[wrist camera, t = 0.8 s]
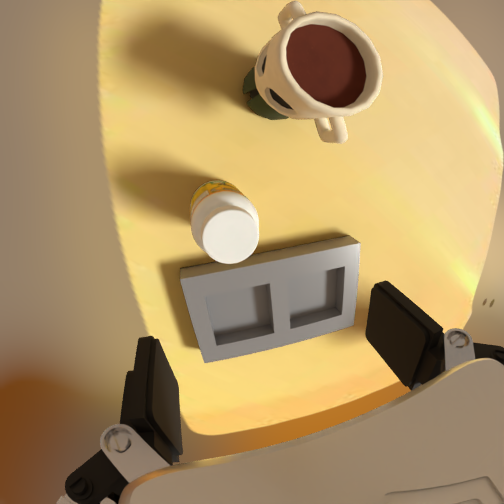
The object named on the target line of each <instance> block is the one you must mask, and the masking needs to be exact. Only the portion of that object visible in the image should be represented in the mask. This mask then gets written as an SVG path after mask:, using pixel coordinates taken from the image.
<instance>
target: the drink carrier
mask: <svg viewBox="0 0 504 504" xmlns="http://www.w3.org/2000/svg"><path fill="white" fill-rule="evenodd" d="M359 261H360V242H358V241H357V240H355V239H354V238H352V237H351V236H345V237H340V238H335V239H330V240H325V241H319V242H314V243H309V244H304V245H299V246H294V247H289V248H284V249H279V250H273V251H268V252H263V253H258V254H253V255H250V256H249V257H248V258H246V259H245V260H243V261H241V262H238V263H233V264H225V263H220V262H218V261H217V262H212V263H206V264H201V265H196V266H191V267H186V268H180V281H181V285H182V289H183V293H184V296H185V300H186V304H187V307H188V311H189V314H190V318H191V321H192V324H193V328H194V331H195V334H196V338H197V341H198V344H199V347H200V350H201V354H202V357H203V360H204V363H208V362H214V361H219V360H224V359H229V358H234V357H239V356H243V355H248V354H252V353H257V352H261V351H265V350H269V349H273V348H277V347H281V346H285V345H289V344H293V343H296V342H300V341H304V340H307V339H311V338H314V337H318V336H321V335H324V334H328V333H331V332H334V331H337V330H341V329H344V328H347V327H350V326H353V325H354V317H355V308H356V299H357V288H358V276H359Z"/></svg>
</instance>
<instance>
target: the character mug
mask: <svg viewBox="0 0 504 504" xmlns="http://www.w3.org/2000/svg"><path fill="white" fill-rule="evenodd" d="M292 18H293V20H292ZM278 21H279V24H280V26H281V29H282V30H280V31H279V32H278V33H276V34H275V35H274V36H273V37H272V39H271V40H270V41H269V42H268V43H267V44H266V45H265V46H264V47H263V48H262V50H261V52H260V54H259V56H258V58H257V62H256V65H255V67H253V68H252V69H251V71H250V72H249V73H248V75H247V76H246V78H245V80H244V86H243V93H244V94H245V93H247V92H249V91H250V97H251V98H252V99H251V100H249V101H248V102H247V104H248V106H249V107H250V108H251V109H252V110H253V111H254V112H255V113H256V114H257V115H259V116H262V117H265V118H267V119H270V120H277V119H287V118H289V117H290V118H292V119H298V120H299V119H314V120H315V124H316V127H317V130H318V134H319V136H320V138H321V140H322V141H324V142H328V143H340V144H342V143H344V142H345V141H346V140H347V139H348V133H347V129H346V125H345V122H344V118H343V116H351V115H354V114H356V113H358V112H360V111H362V110H364V109H366V108H368V107H370V105H371V104H372V103H373V101H374V100H375V99H376V97H377V96H378V94H379V93H380V88H381V84H382V79H383V72H382V65H381V59H380V56H379V54H378V52H377V50H376V48H375V46H374V45H373V43H372V41H371V39H370V38H369V37H368V36H367V35H366V34H365V33H364V32H363V31H362V30H361V29H360V28H359V27H358V26H357V25H356V24H354V23H352V22H350V21H348V20H347V19H345V18H343V17H341V16H339V15H337V14H331V13H324V12H313V13H309V14H306V13H305V10H304V8H303V6H302V5H301V3H300V2H297V1H292V2H290V3H288V4H287V5H286V6H285V7H284V8H283V10H282V11H281V12H280V13H279V15H278ZM327 118H329V120H330V123H331V127H332V130H330V127H329V123H328V120H327Z"/></svg>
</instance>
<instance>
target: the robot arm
mask: <svg viewBox="0 0 504 504" xmlns="http://www.w3.org/2000/svg"><path fill="white" fill-rule="evenodd" d="M442 331H443V328H442V327H441V326H440V325H439V324H438V323H437V322H435V321H434V320H433V319H432V318H431V317H430V316H429V315H427V314H426V313H425V312H424V311H423V310H422V309H421V308H419V307H418V306H417V305H416V304H415V303H413V302H412V301H411V300H410V299H409V298H408V297H406V296H405V295H404V294H403V293H402V292H400V291H399V290H398V289H397V288H395V287H394V286H393V285H392V284H391V283H389V282H388V281H383V282H379V283H376V284H375V285H374V288H372V290H371V297H370V305H369V313H368V320H367V326H366V338H367V340H368V341H369V342H370V344H371V345H372V346H373V347H374V349H375V350H376V351H377V352H378V353H379V355H380V356H381V357H382V358H383V360H384V361H385V362H386V363H387V365H388V366H389V367H390V368H391V370H392V371H393V372H394V373H395V374H396V376H397V377H398V378H399V379H400V381H401V382H402V383H403V384H404V385H405V386H408V387H409V388H410V390H411V391H410V392H408V393H406V394H405V395H403V396H401V397H399V398H397V399H395V400H393V401H391V402H389V403H387V404H385V405H383V406H380V407H379V408H376V409H374V410H372V411H369V412H367V413H365V414H363V415H360V416H358V417H356V418H353V419H351V420H348V421H346V422H344V423H341V424H338V425H335V426H333V427H330V428H327V429H325V430H322V431H319V432H316V433H313V434H310V435H307V436H304V437H301V438H297V439H294V440H291V441H287V442H284V443H280V444H276V445H273V446H269V447H265V448H261V449H256V450H252V451H247V452H243V453H238V454H233V455H228V456H223V457H217V458H211V459H205V460H199V461H193V462H187V463H181V464H177V465H173V464H172V463H173V462H179V455H182V454H183V448H182V437H181V424H180V423H181V422H180V404H179V387H178V383H177V380H176V378H175V376H174V374H173V371H172V369H171V367H170V365H169V362H168V360H167V358H166V356H165V353H164V351H163V349H162V346H161V344H160V341H159V339H154V337H153V336H148V337H142V338H139V339H138V345H137V351H136V357H135V364H134V370H133V371H128V372H127V375H126V381H125V387H124V394H123V401H122V409H121V418H120V424H116V425H112V426H110V427H108V428H107V429H106V430H105V431H104V432H103V434H102V435H101V439H100V445H101V448H102V449H101V450H100V451H99V452H97V453H96V454H95V455H94V456H93V457H92V458H90V459H89V460H88V461H86V462H85V463H84V464H83V465H82V466H80V467H79V468H78V469H76V470H75V471H74V472H73V473H71V474H70V476H68V478H67V480H66V482H65V490H66V495H65V496H64V497H63V496H61V497H60V499H59V500H58V502H57V503H56V504H504V348H503V347H501V346H495V345H487V344H480V343H473V341H472V338H471V336H470V335H469V334H468V333H467V332H466V331H464V330H462V329H457V328H454V329H450V330H448V331H447V332H446V333H445V334H444V333H443V332H442ZM421 384H422V385H421Z"/></svg>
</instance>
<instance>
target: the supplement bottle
mask: <svg viewBox="0 0 504 504" xmlns="http://www.w3.org/2000/svg"><path fill="white" fill-rule="evenodd" d="M190 219H191V231H192V235H193V238H194V240H195V242H196V243H197V245H198V246H199V247H200V248H201V249H202V250H203V251H205V252H206V253H207V254H208V255H209V256H210V257H211V258H212V259H214V260H216V261H218V262H220V263H225V264H233V263H238V262H241V261H243V260H245V259H246V258H248V257H249V256H250V255H251V254H252V253H253V251H254V250H255V248H256V247H257V244H258V240H259V230H258V228H259V219H258V214H257V211H256V209H255V207H254V206H253V204H252V203H251V202H250V201H249V200H248V198H246V196H244V195H243V194H242V193H241V192H240V191H239V190H238V189H237V188H236V187H235V186H234V185H232V184H231V183H229V182H226V181H210V182H207V183H205V184H203V185H201V186H200V187H199V188H198V189H197V190H196V191H195V193H194V195H193V197H192V199H191V203H190Z"/></svg>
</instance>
